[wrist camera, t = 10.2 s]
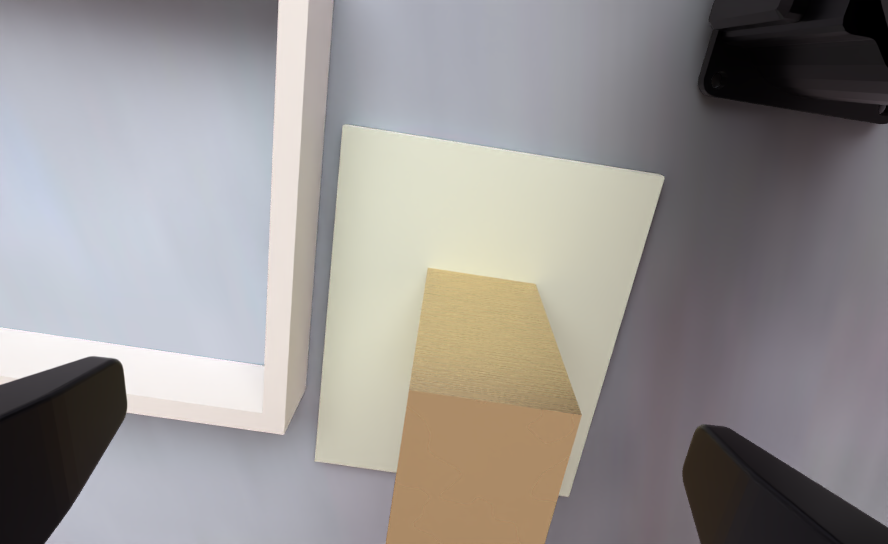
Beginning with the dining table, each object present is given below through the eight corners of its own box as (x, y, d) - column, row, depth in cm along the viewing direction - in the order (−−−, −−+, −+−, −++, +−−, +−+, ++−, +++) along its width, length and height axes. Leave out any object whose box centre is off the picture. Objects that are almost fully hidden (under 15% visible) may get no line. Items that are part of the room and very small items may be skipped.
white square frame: (336, -38, 17) (311, -59, 14) (305, 388, 22) (283, 434, 20) (-179, -124, 16) (-311, -164, 14) (-80, 332, 22) (-159, 372, 19)
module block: (535, 283, 20) (582, 415, 12) (509, 398, 22) (535, 573, 14) (427, 267, 20) (408, 390, 12) (410, 383, 22) (384, 552, 14)
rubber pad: (659, 174, 19) (664, 177, 18) (566, 488, 24) (568, 496, 23) (345, 124, 19) (342, 125, 18) (317, 453, 23) (314, 461, 23)
